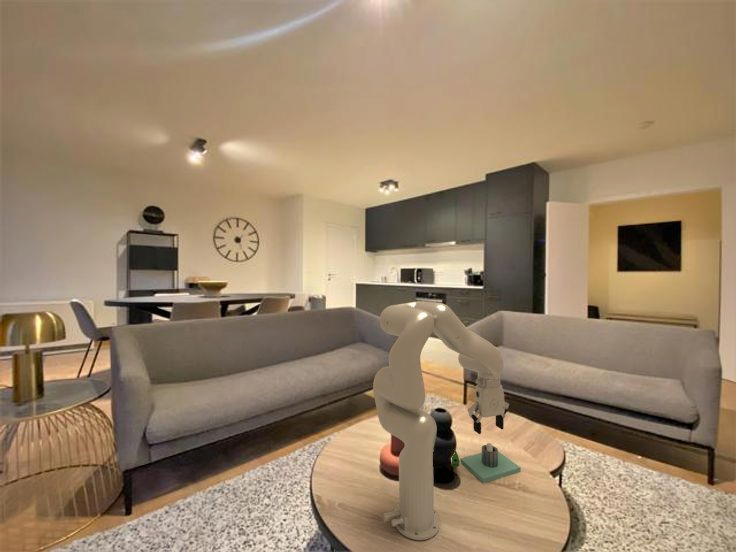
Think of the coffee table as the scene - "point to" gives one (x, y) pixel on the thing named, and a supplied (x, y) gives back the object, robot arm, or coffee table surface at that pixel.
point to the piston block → (489, 473)
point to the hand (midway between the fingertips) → (488, 429)
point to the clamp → (455, 460)
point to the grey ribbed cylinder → (489, 457)
